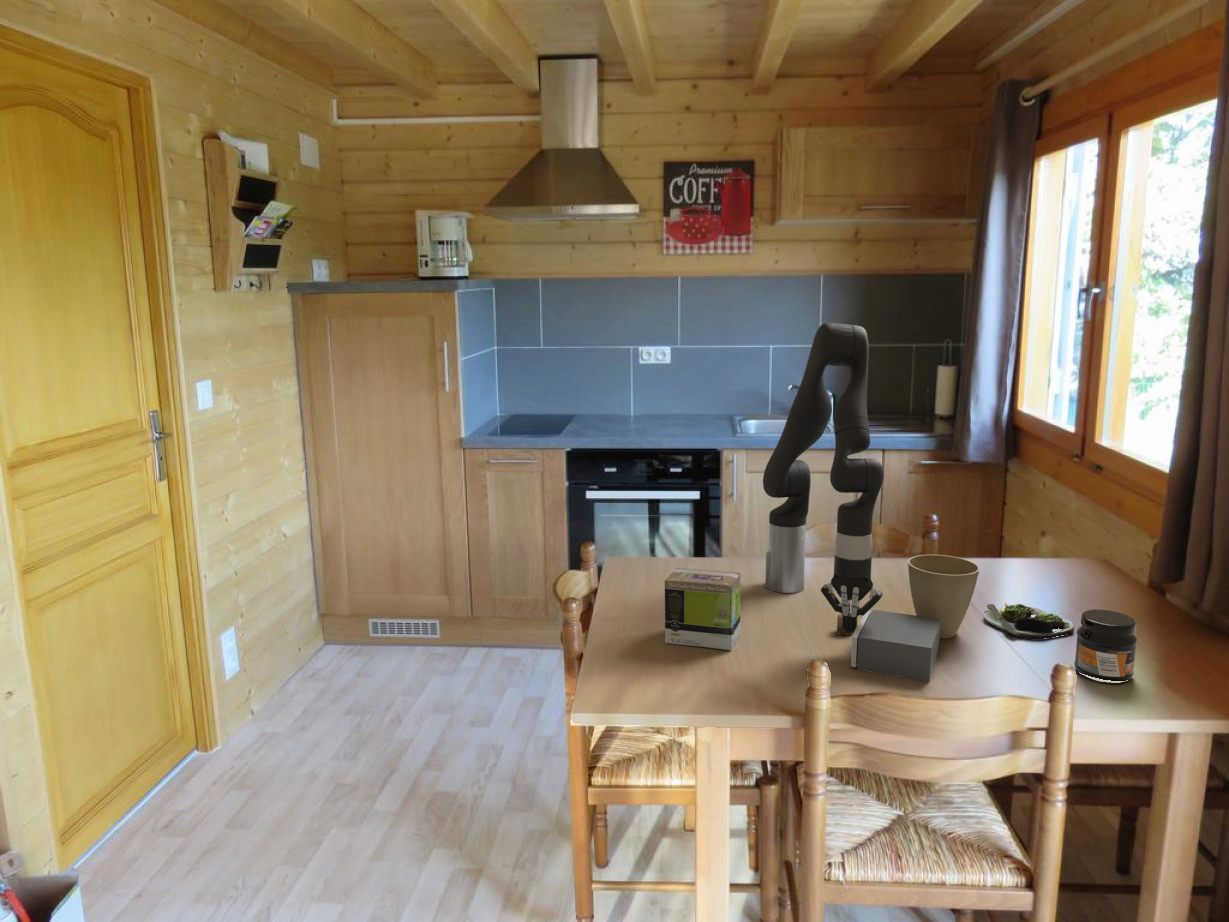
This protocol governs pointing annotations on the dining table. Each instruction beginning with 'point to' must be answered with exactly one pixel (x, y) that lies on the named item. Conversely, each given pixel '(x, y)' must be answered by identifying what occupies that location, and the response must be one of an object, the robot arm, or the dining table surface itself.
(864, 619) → the tray
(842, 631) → the pedestal
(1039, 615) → the salad plate
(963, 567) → the plant pot
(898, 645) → the block
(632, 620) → the dining table surface
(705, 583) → the tea box
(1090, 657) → the supplement container
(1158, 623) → the dining table surface
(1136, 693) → the dining table surface
